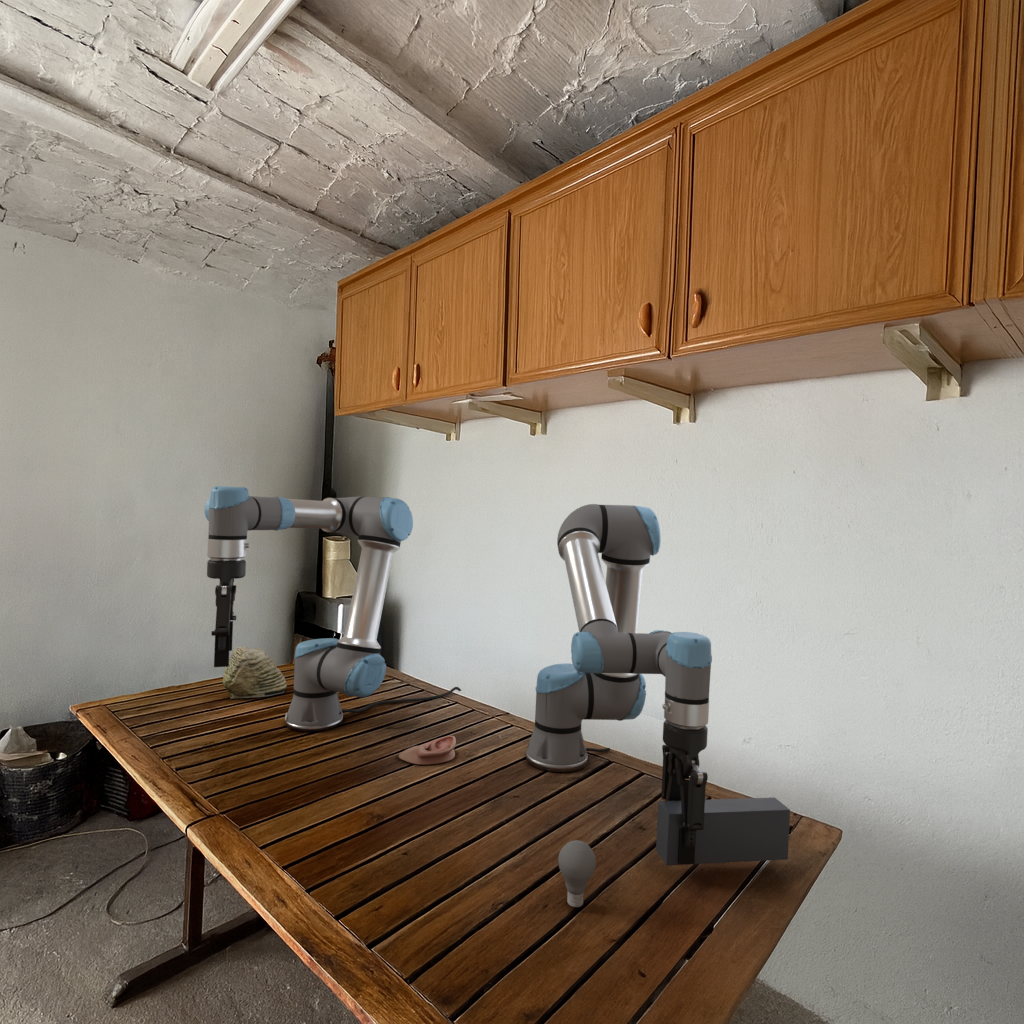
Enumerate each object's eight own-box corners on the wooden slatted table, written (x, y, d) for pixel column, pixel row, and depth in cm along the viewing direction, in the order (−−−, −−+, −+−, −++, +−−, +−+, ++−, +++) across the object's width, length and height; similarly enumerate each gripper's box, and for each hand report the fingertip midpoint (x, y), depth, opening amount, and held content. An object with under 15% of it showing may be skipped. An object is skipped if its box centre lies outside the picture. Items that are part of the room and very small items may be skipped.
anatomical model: (394, 745, 152) (411, 728, 164) (393, 761, 153) (410, 744, 164) (446, 752, 150) (460, 734, 161) (446, 768, 150) (459, 750, 161)
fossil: (218, 695, 195) (220, 647, 195) (278, 685, 208) (279, 640, 207) (228, 703, 189) (230, 653, 188) (289, 692, 201) (290, 645, 201)
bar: (772, 845, 117) (774, 797, 117) (787, 859, 112) (790, 809, 112) (655, 850, 113) (657, 801, 113) (666, 865, 108) (668, 814, 108)
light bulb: (553, 893, 104) (556, 833, 104) (589, 892, 104) (592, 832, 104) (559, 917, 98) (562, 853, 98) (597, 916, 99) (600, 853, 98)
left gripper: (244, 565, 124) (240, 672, 125) (247, 553, 148) (244, 644, 148) (201, 565, 122) (198, 675, 122) (212, 553, 145) (208, 645, 145)
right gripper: (646, 706, 119) (640, 829, 120) (687, 742, 102) (680, 886, 102) (684, 706, 120) (678, 827, 121) (730, 741, 103) (723, 883, 103)
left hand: (223, 658), depth 135 cm, fingers open, 13 cm apart
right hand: (679, 854), depth 111 cm, fingers closed on bar, 5 cm apart
